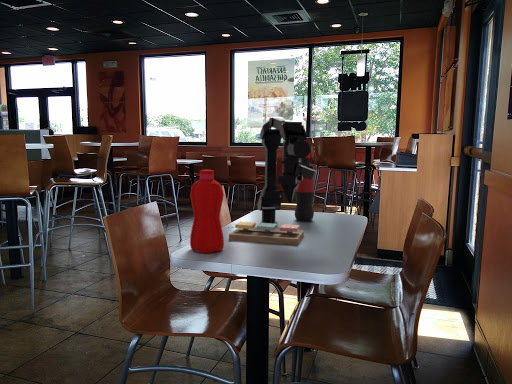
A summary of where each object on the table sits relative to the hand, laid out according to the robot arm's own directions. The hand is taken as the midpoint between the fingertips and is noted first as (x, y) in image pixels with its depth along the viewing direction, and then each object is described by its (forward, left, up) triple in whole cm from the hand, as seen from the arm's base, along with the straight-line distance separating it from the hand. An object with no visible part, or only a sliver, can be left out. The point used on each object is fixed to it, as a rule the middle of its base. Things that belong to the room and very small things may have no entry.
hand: (290, 202), depth 135 cm
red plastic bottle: (+21, -23, -13) cm, 34 cm away
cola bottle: (-38, 0, -13) cm, 40 cm away
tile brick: (0, 0, -11) cm, 11 cm away
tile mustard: (0, -16, -11) cm, 19 cm away
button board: (0, -8, -13) cm, 15 cm away
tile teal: (0, -8, -11) cm, 14 cm away
